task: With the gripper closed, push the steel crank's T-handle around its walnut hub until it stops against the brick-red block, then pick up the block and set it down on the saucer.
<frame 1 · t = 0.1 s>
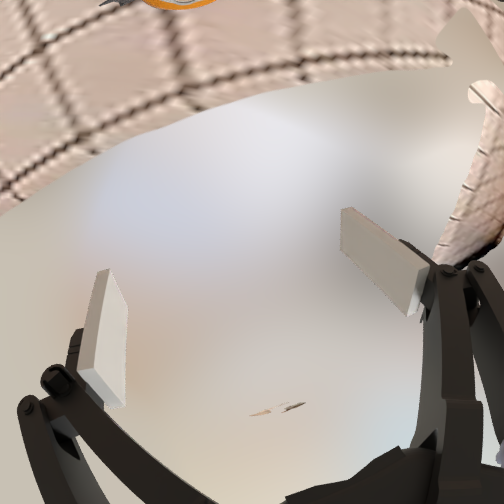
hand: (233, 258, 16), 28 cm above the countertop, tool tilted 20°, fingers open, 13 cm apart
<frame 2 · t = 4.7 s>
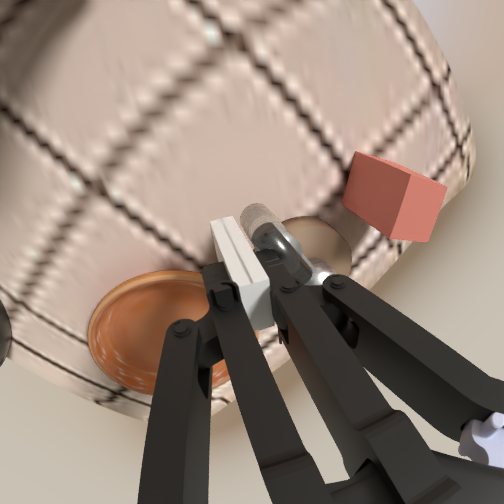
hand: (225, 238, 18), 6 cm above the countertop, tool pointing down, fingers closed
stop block: (368, 182, 26), on the countertop
crank: (301, 272, 20), point 6 cm above the countertop, hinge at -0.5°, touching gripper
saucer: (171, 327, 28), on the countertop
hub plate: (296, 261, 27), on the countertop
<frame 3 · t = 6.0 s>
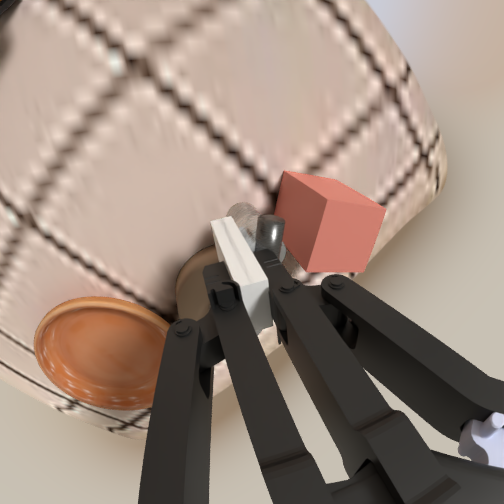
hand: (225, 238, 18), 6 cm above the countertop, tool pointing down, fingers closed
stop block: (303, 203, 25), on the countertop
crank: (247, 289, 20), point 6 cm above the countertop, hinge at -44.8°, touching gripper
saucer: (111, 345, 27), on the countertop
hub plate: (225, 287, 27), on the countertop
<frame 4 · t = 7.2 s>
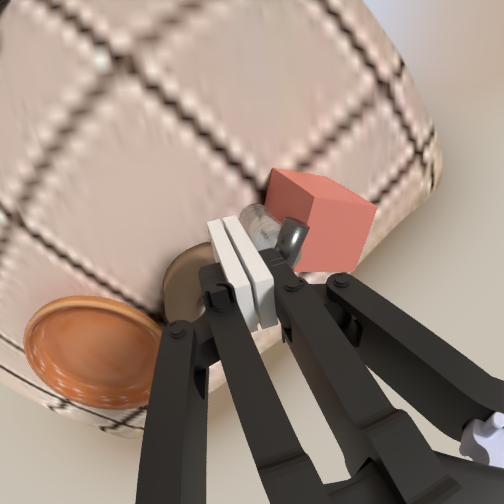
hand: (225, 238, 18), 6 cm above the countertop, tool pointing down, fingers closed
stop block: (293, 200, 24), on the countertop
crank: (246, 289, 20), point 6 cm above the countertop, hinge at -58.5°
saucer: (100, 345, 26), on the countertop
hub plate: (213, 286, 26), on the countertop
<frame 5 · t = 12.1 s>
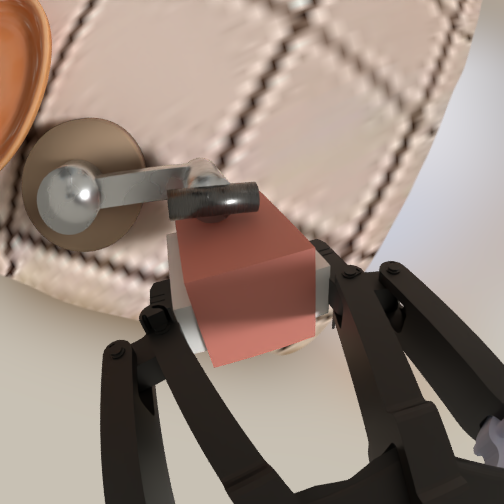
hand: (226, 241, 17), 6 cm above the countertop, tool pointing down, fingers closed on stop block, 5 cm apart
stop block: (224, 239, 18), point 5 cm above the countertop, touching gripper
crank: (130, 195, 14), point 6 cm above the countertop, hinge at -58.4°
hub plate: (87, 179, 18), on the countertop
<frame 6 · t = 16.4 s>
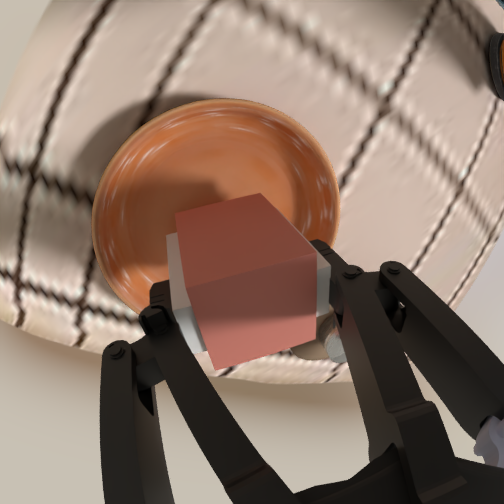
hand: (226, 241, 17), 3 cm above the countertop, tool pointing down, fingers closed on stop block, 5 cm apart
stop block: (225, 240, 18), point 2 cm above the countertop, touching gripper, saucer
crank: (392, 339, 23), point 6 cm above the countertop, hinge at -58.4°
canister: (498, 73, 19), on the countertop
saucer: (215, 216, 20), on the countertop, touching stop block
hub plate: (324, 308, 27), on the countertop
when the fingers open (3 cm above the countertop, at t = 16.4 s): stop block stays where it is, resting on saucer.
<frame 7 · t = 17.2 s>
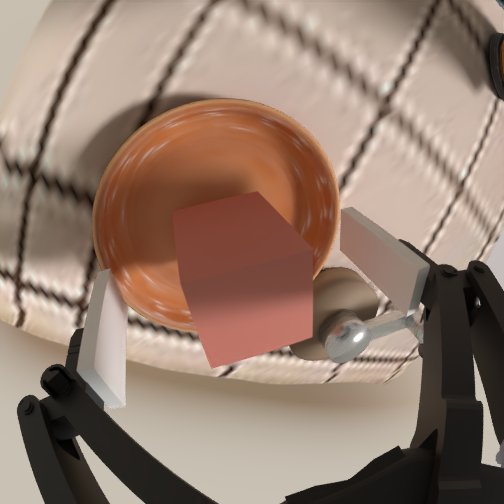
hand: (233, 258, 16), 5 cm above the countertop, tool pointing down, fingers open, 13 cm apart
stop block: (222, 239, 18), point 2 cm above the countertop, touching saucer
crank: (392, 339, 23), point 6 cm above the countertop, hinge at -58.4°
canister: (498, 73, 19), on the countertop
saucer: (215, 216, 20), on the countertop, touching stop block
hub plate: (324, 308, 27), on the countertop
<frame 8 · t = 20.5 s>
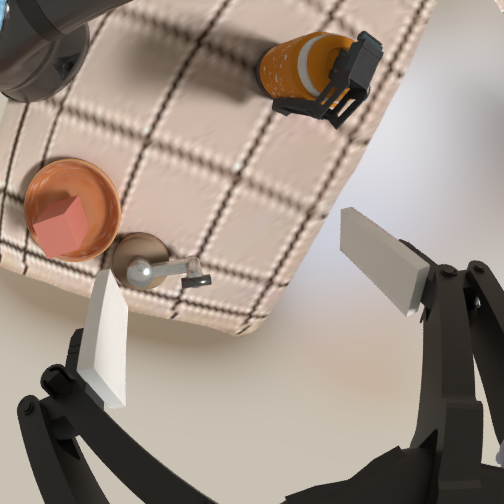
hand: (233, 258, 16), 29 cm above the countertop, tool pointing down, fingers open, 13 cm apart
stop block: (69, 215, 36), point 2 cm above the countertop, touching saucer
crank: (166, 275, 41), point 6 cm above the countertop, hinge at -58.4°
canister: (280, 79, 38), on the countertop
saucer: (74, 206, 39), on the countertop, touching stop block
hub plate: (141, 258, 45), on the countertop
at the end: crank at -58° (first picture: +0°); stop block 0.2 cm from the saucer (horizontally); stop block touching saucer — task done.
